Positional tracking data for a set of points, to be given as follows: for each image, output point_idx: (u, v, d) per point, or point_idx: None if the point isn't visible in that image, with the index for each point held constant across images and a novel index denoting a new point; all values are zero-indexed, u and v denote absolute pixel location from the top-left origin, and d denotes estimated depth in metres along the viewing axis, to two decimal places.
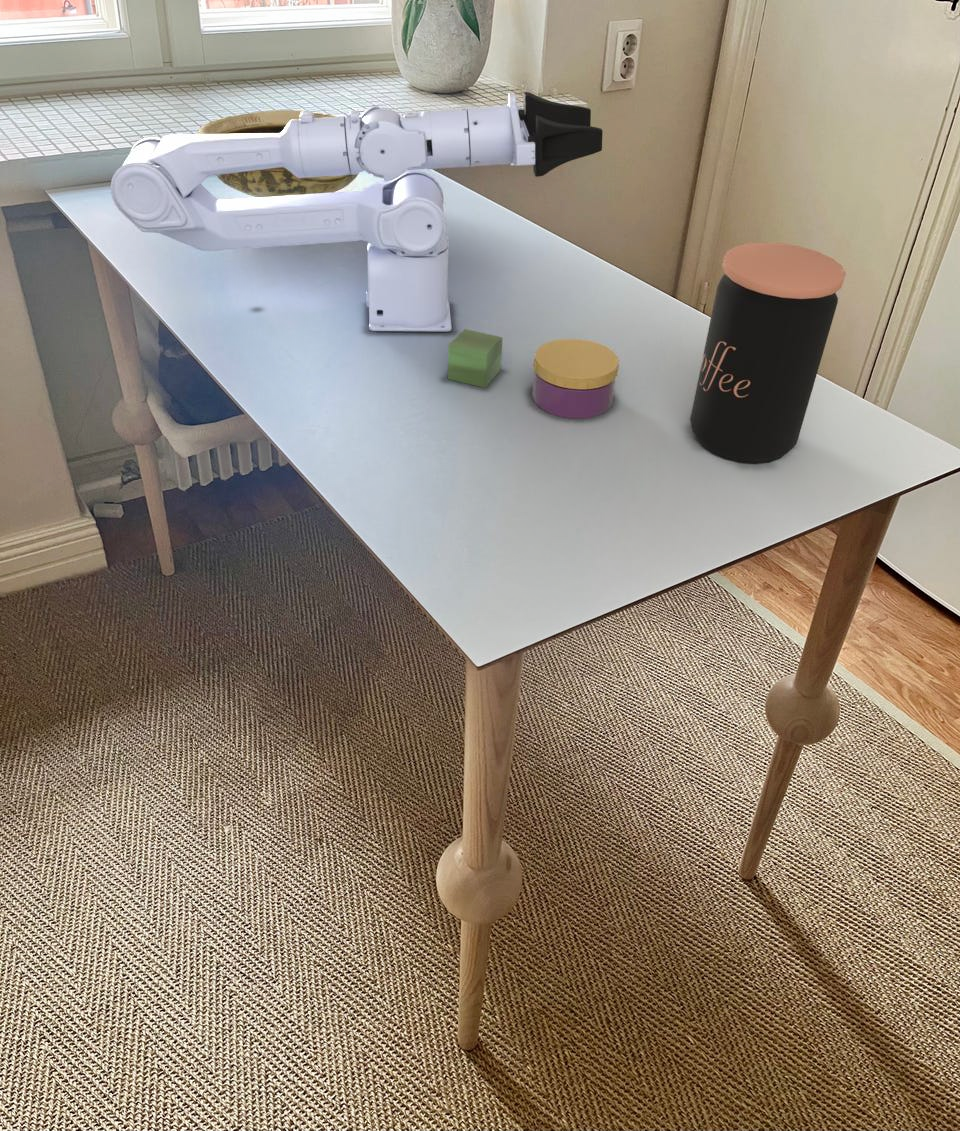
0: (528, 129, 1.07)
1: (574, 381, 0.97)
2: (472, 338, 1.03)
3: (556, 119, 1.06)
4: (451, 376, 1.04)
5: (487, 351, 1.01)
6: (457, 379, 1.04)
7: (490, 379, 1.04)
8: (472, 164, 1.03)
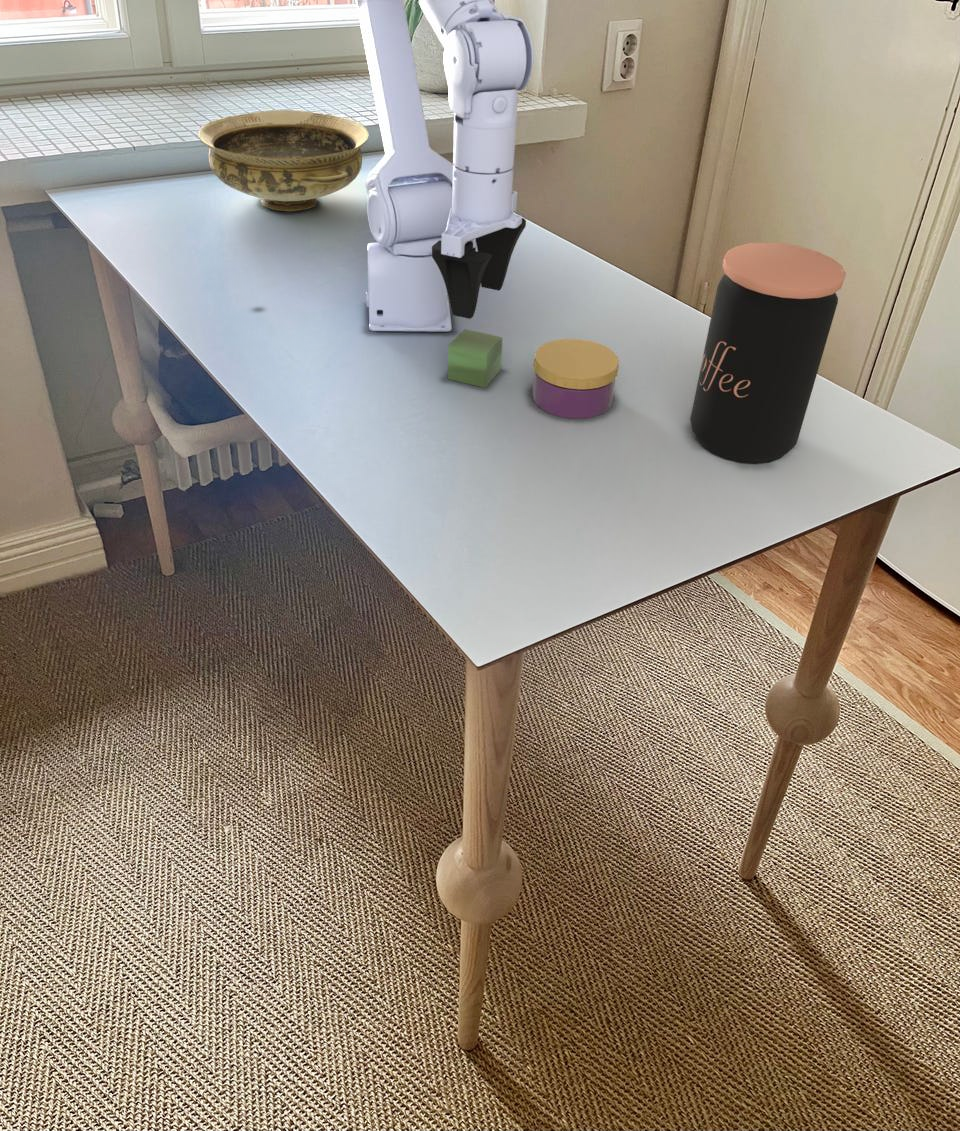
0: None
1: (574, 381, 0.97)
2: (472, 338, 1.03)
3: (494, 254, 1.00)
4: (451, 376, 1.04)
5: (487, 351, 1.01)
6: (457, 379, 1.04)
7: (490, 379, 1.04)
8: (454, 168, 0.91)
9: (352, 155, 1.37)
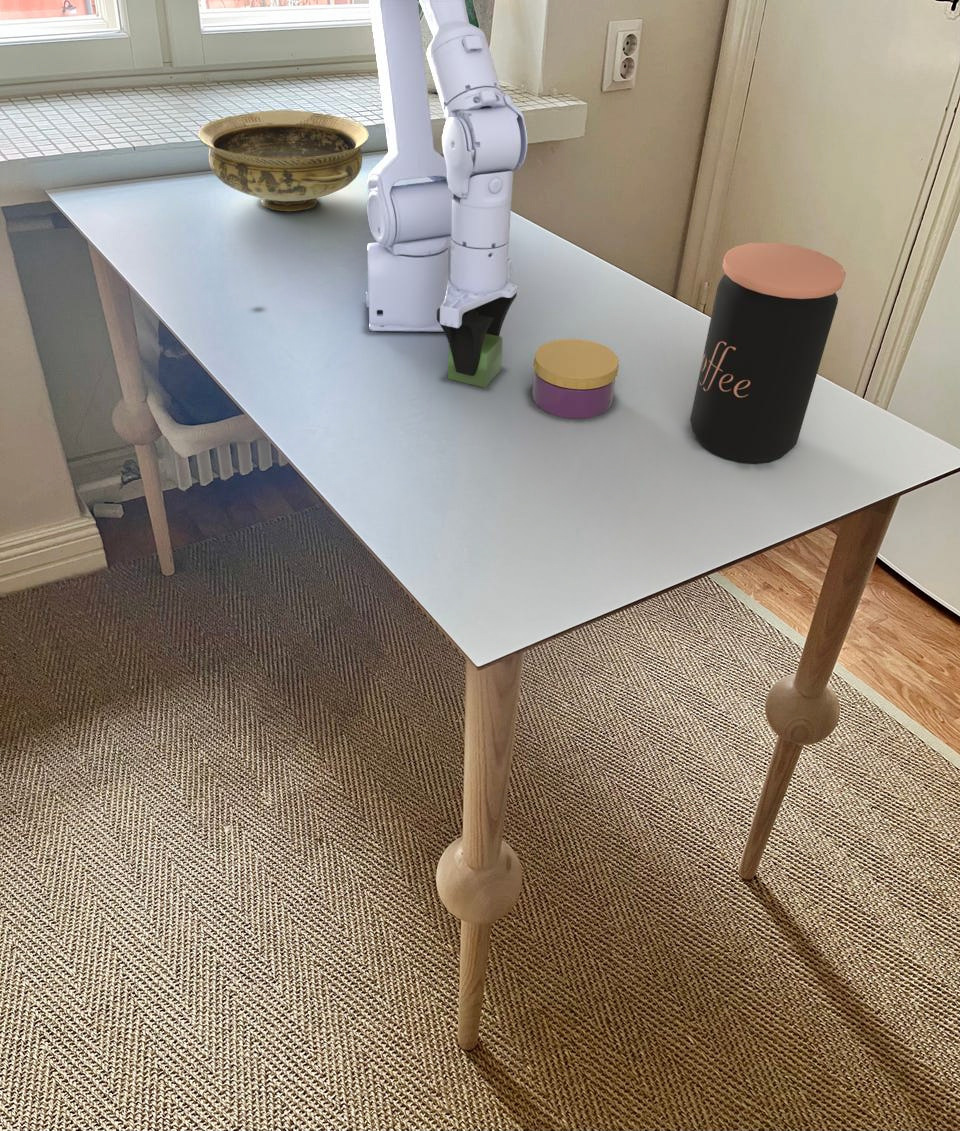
0: None
1: (574, 381, 0.97)
2: None
3: None
4: (451, 376, 1.04)
5: (487, 351, 1.01)
6: (457, 379, 1.04)
7: (490, 379, 1.04)
8: (452, 241, 0.96)
9: (352, 155, 1.37)
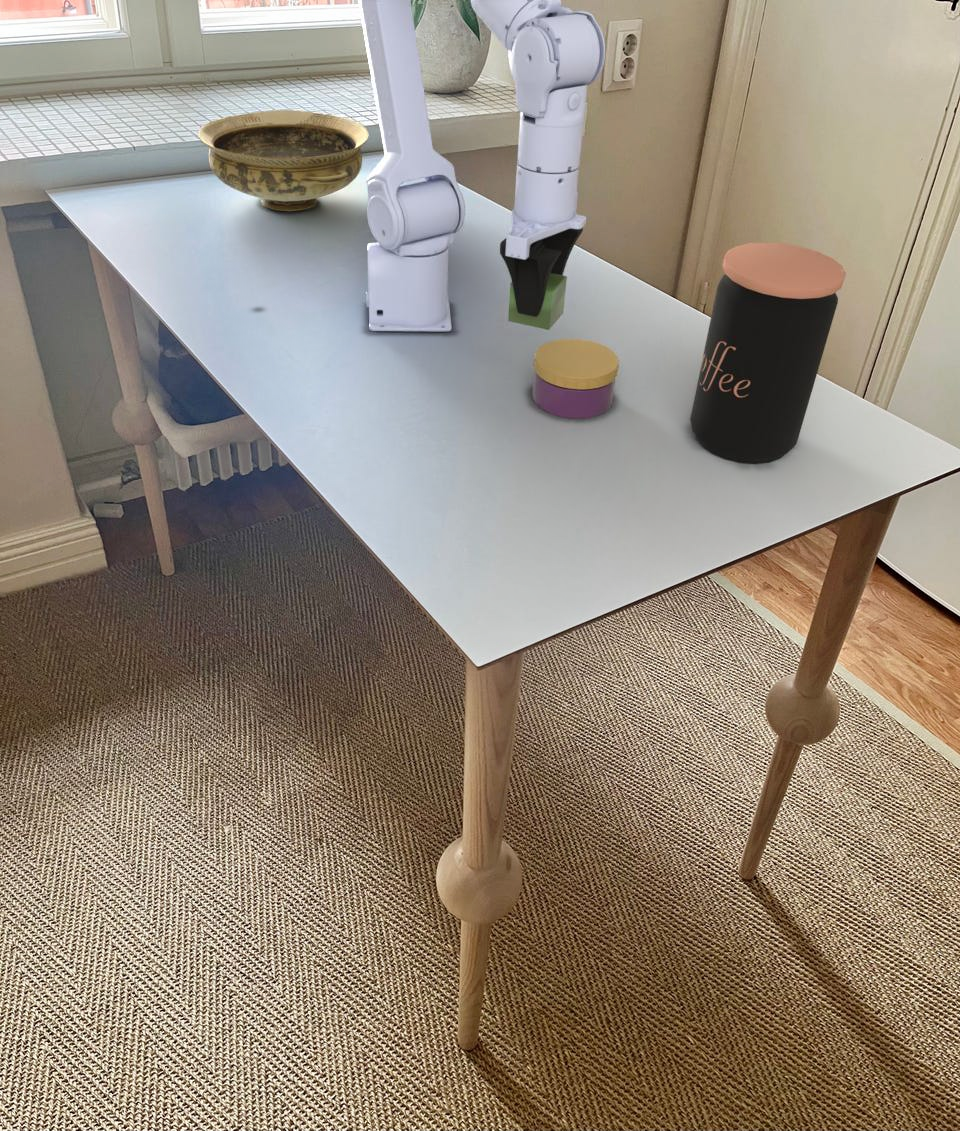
0: None
1: (574, 381, 0.97)
2: None
3: None
4: (512, 318, 0.97)
5: (552, 290, 0.94)
6: (518, 321, 0.97)
7: (554, 321, 0.97)
8: (518, 167, 0.89)
9: (352, 155, 1.37)
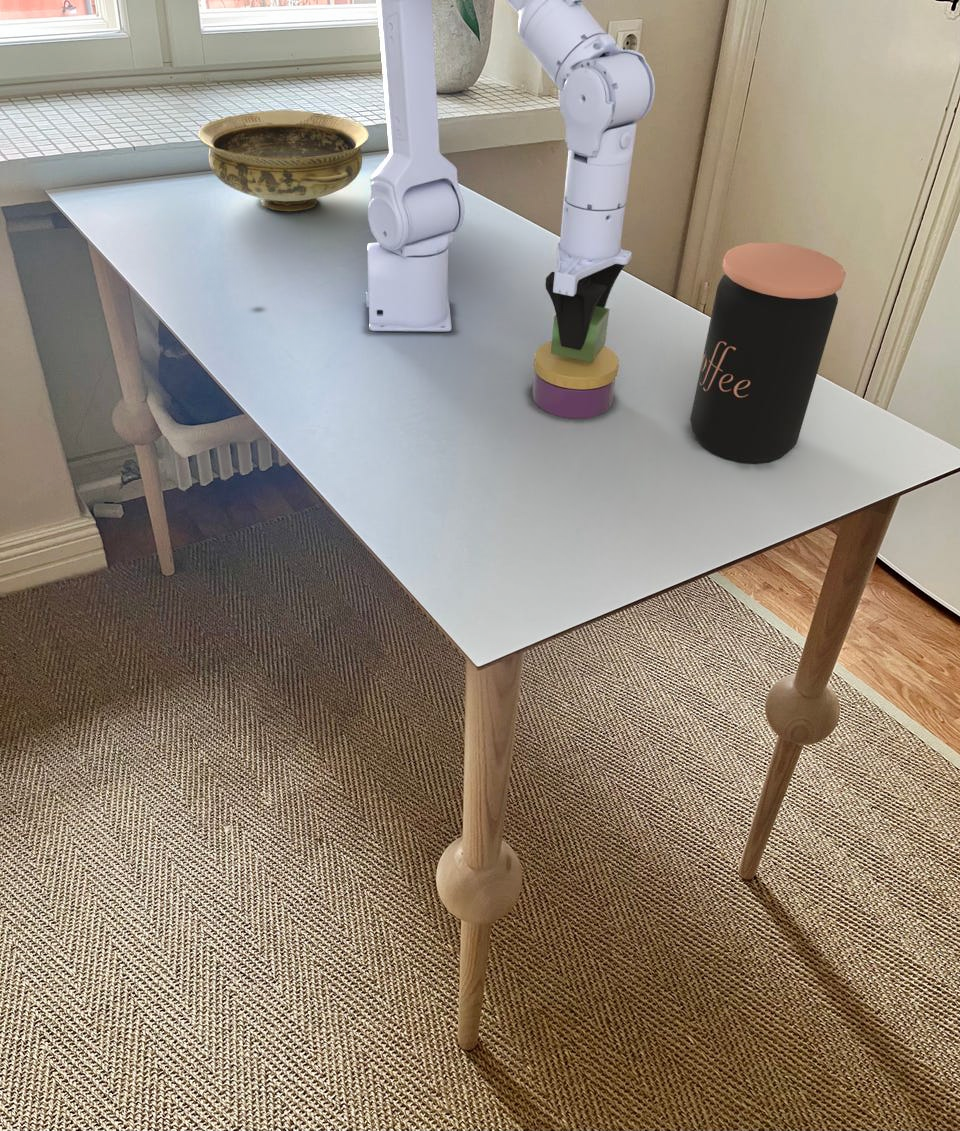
0: None
1: (574, 381, 0.97)
2: None
3: None
4: (554, 350, 0.98)
5: (596, 323, 0.95)
6: (561, 353, 0.97)
7: (596, 353, 0.98)
8: (565, 204, 0.89)
9: (352, 155, 1.37)
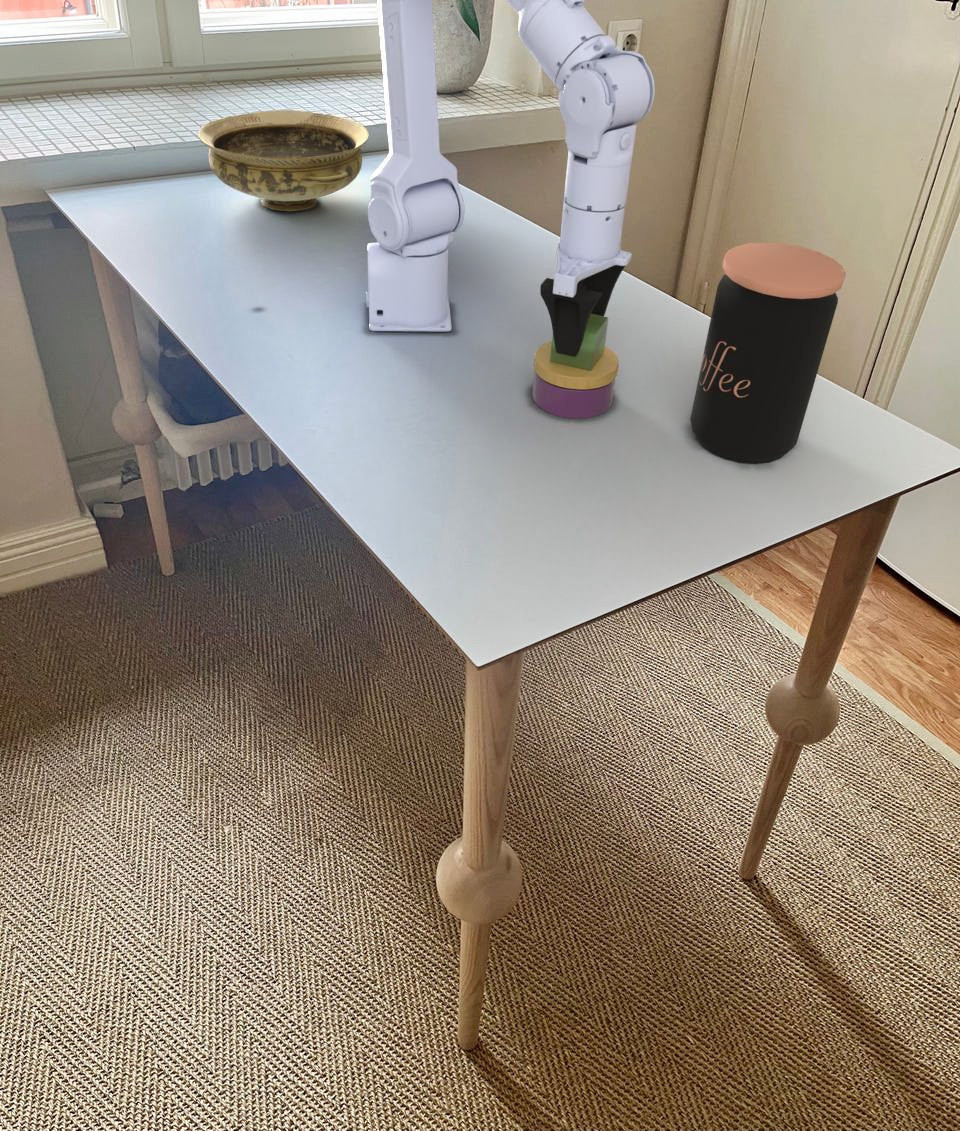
0: None
1: (574, 381, 0.97)
2: None
3: (596, 289, 0.98)
4: (554, 359, 0.98)
5: (595, 332, 0.95)
6: (560, 362, 0.98)
7: (595, 362, 0.98)
8: (565, 205, 0.89)
9: (352, 155, 1.37)
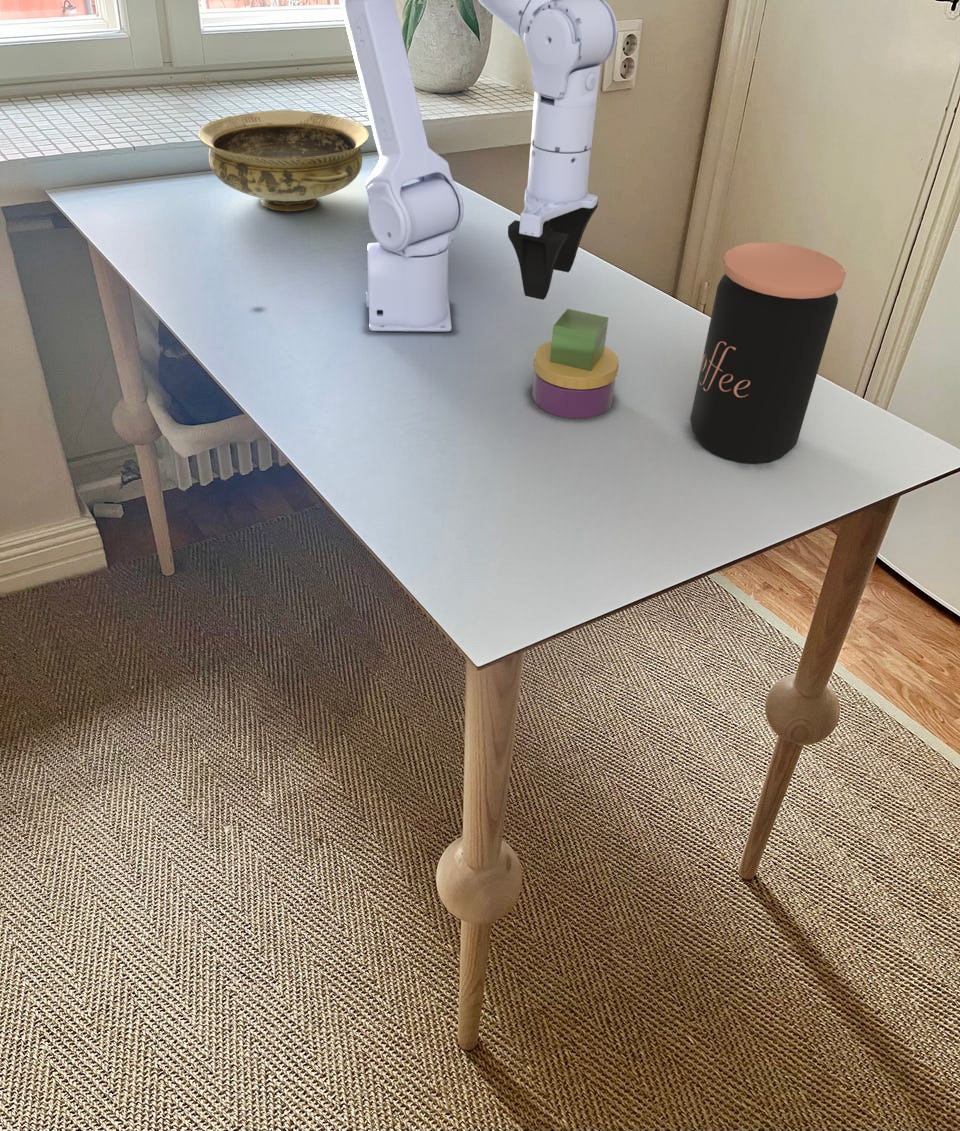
0: None
1: (574, 381, 0.97)
2: (577, 318, 0.97)
3: None
4: (554, 359, 0.98)
5: (595, 332, 0.95)
6: (560, 362, 0.98)
7: (595, 362, 0.98)
8: (532, 147, 0.91)
9: (352, 155, 1.37)
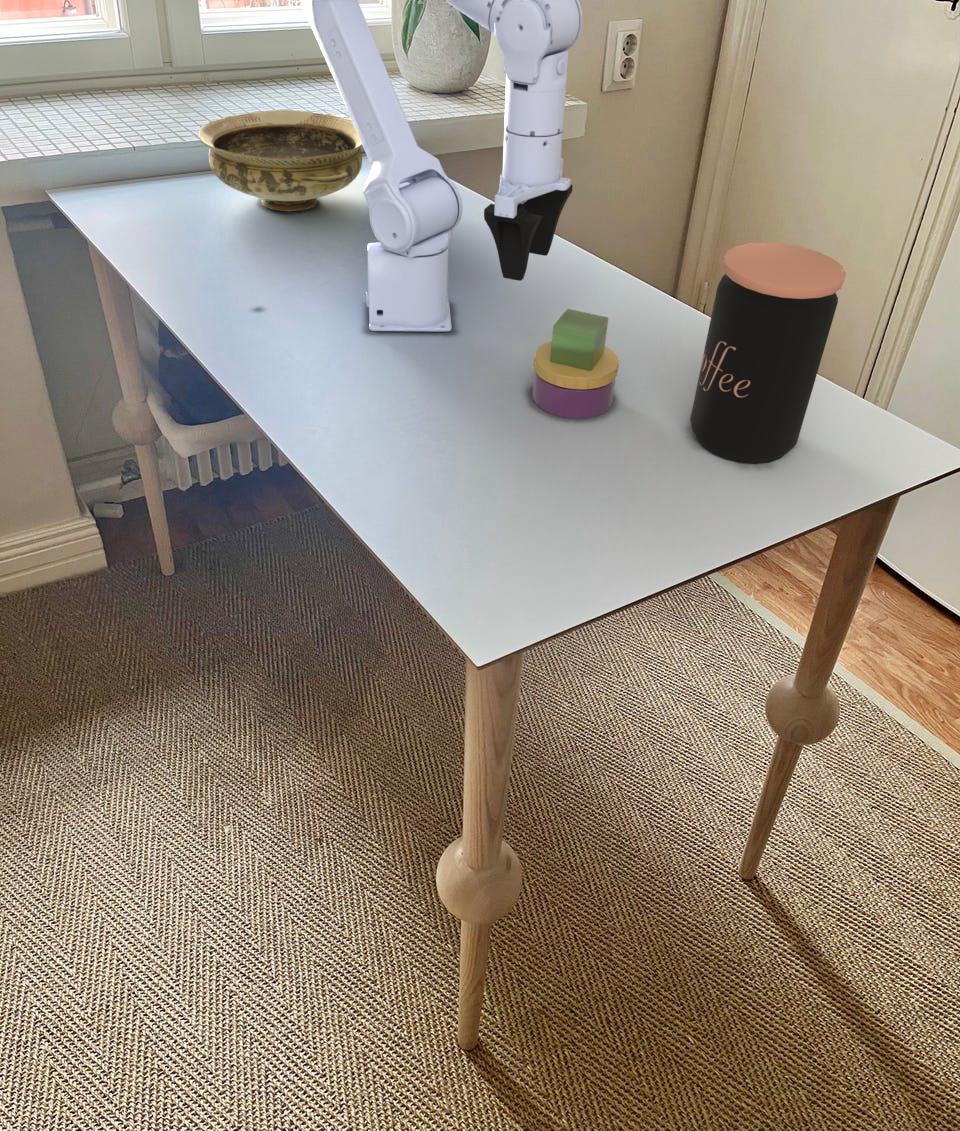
0: None
1: (574, 381, 0.97)
2: (577, 318, 0.97)
3: (542, 219, 1.03)
4: (554, 359, 0.98)
5: (595, 332, 0.95)
6: (560, 362, 0.98)
7: (595, 362, 0.98)
8: (505, 132, 0.94)
9: (352, 155, 1.37)
